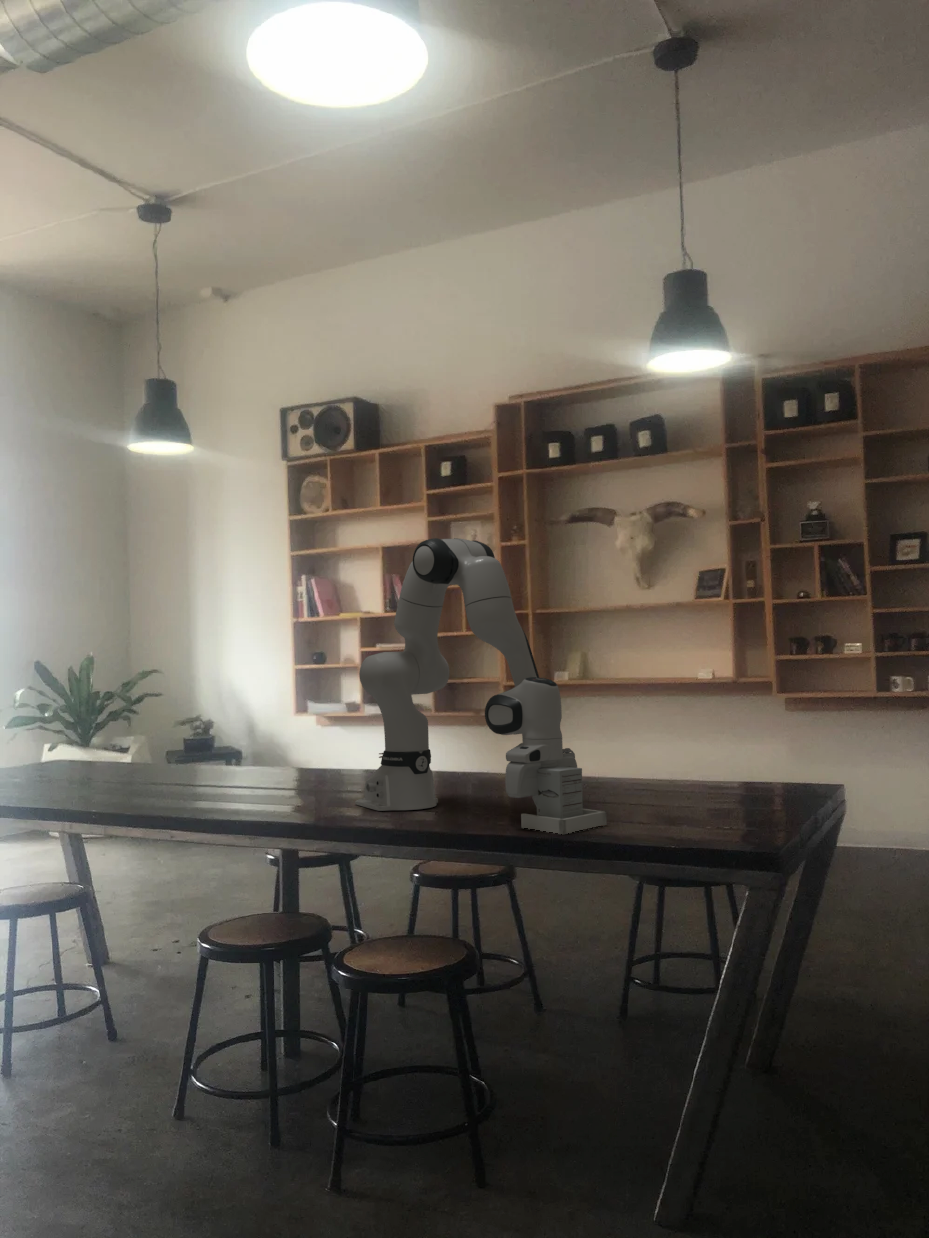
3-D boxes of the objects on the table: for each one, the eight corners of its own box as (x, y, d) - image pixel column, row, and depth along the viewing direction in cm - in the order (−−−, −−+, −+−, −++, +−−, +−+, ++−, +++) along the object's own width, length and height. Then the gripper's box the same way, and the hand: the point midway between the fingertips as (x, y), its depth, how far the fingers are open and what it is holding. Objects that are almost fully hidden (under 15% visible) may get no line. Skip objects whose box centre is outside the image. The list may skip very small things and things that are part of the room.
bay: (521, 828, 204) (521, 814, 204) (565, 819, 213) (564, 806, 213) (562, 834, 195) (562, 820, 195) (606, 825, 204) (606, 811, 204)
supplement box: (536, 826, 205) (534, 768, 206) (559, 822, 210) (557, 764, 211) (561, 830, 200) (559, 770, 200) (584, 825, 204) (582, 767, 205)
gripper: (563, 746, 218) (565, 806, 218) (500, 753, 205) (501, 818, 204) (584, 747, 214) (586, 809, 213) (520, 755, 200) (522, 821, 199)
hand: (544, 813), depth 208 cm, fingers closed, pressing on supplement box
